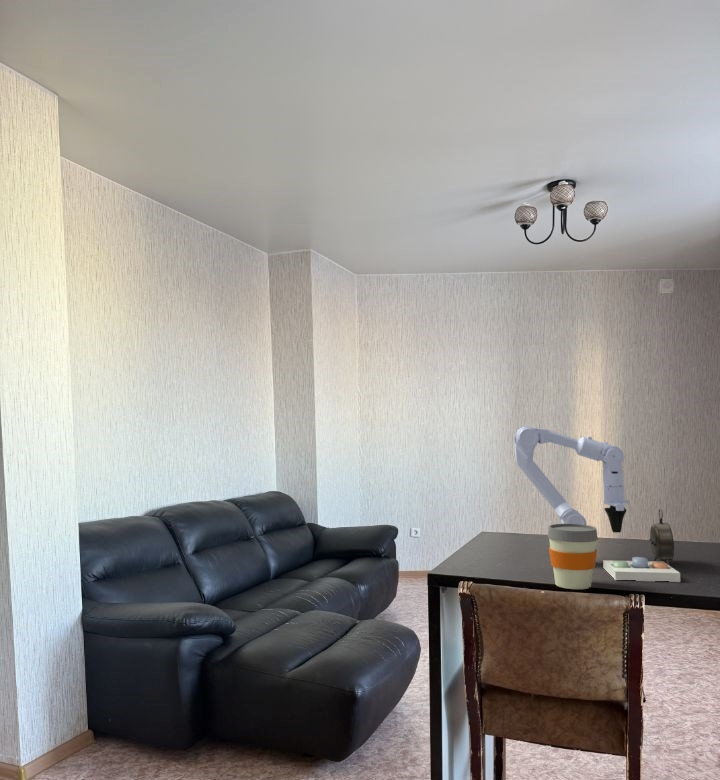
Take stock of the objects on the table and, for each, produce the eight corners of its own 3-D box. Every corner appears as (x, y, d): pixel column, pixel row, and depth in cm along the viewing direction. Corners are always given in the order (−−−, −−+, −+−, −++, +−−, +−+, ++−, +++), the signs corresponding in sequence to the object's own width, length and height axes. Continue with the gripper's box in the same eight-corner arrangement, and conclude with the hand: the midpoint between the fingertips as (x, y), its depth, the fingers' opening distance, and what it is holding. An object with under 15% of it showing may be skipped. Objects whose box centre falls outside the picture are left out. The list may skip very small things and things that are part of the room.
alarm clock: (675, 567, 198) (674, 511, 198) (655, 567, 199) (654, 511, 200) (666, 559, 209) (665, 506, 209) (647, 559, 210) (646, 506, 210)
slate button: (634, 570, 187) (634, 559, 188) (630, 567, 191) (630, 556, 192) (649, 571, 187) (649, 560, 187) (645, 567, 191) (645, 557, 191)
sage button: (615, 574, 188) (614, 563, 188) (611, 571, 192) (611, 560, 192) (630, 575, 188) (630, 564, 188) (626, 571, 192) (626, 561, 192)
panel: (615, 580, 183) (615, 571, 183) (603, 568, 197) (603, 560, 197) (680, 582, 181) (680, 573, 181) (663, 570, 195) (663, 561, 195)
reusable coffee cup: (541, 579, 185) (540, 523, 185) (586, 578, 185) (586, 523, 186) (558, 591, 172) (557, 531, 173) (606, 590, 173) (605, 531, 173)
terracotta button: (654, 575, 187) (654, 564, 187) (650, 572, 191) (649, 561, 191) (669, 576, 186) (669, 565, 186) (665, 572, 190) (664, 561, 190)
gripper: (633, 488, 195) (636, 536, 194) (622, 483, 209) (625, 527, 209) (608, 489, 196) (611, 536, 196) (598, 483, 210) (601, 528, 210)
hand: (616, 532), depth 202 cm, fingers closed
